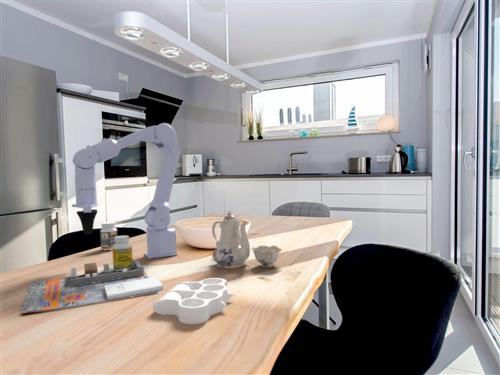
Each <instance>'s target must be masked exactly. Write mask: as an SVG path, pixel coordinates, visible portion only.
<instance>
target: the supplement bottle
mask: <svg viewBox="0 0 500 375" xmlns="http://www.w3.org/2000/svg"><path fill="white" fill-rule="evenodd" d="M114 241H115V243H116V244H114V245H113V247H112V250H111V251H112V264H113V266H112V267H113V271H115V272H119V271H121V272H122V271H123V269H127V271H129V270H133V268H134V264H133V260H134V259H133V258H134V257H133V244H132V243H131V242H130V236H129V235H117V237H114Z"/></svg>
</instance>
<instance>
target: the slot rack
mask: <svg viewBox="0 0 500 375" xmlns="http://www.w3.org/2000/svg"><path fill="white" fill-rule="evenodd" d="M133 268H134V269H130V270H128V271H127V269H123V271H121V272H118V271H115V272H112V271H111V269H110V266H109V263H105V264H104V263H103V273H101V274H98V275H97V273H92V276H90V274H86V277H85V276H82V277H81V276H79V277H77V268H76V267H72V268H70V287H74V286H73V285H77V286H81V285H80V284H83V285H86V284H85V283H90V284H93V283H92V282H96V283H99V282H98V281H103V282H106V281H105V280H110V281H113V280H112V279H116V280H120V279H119V278H123V279H127V278H126V277H130V278H133V277H132V276H136V277H139V276H138V275H143V276H144V272H145V271H144V267H143V266H142V264H141V262H140V261H139V260H138V259H133Z"/></svg>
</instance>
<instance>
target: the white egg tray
mask: <svg viewBox="0 0 500 375" xmlns="http://www.w3.org/2000/svg"><path fill="white" fill-rule="evenodd" d="M234 296H235V294H233V293H231V292H229V291H228V282H227V280H226V279H224V278H221V277H210V278H205V279H202V280H201V279H200V280H199V281H198V280H197V281H183V282H182V281H181V282H179V283H177V284H176V285H175V286H174V287H173V288H172V289H171V290H169V291H167V292H165V294H164V295H163V296H162V297H160V299H157V301H155V302H153V303H152V310H153V312H154V313H156V314H158V315H164V316H165V315H166V316H168V315H169V316H171V315H172V316H176V317H177V318H178V321H179V322H180V323H183V324H186V325H198V324H203V323H206V322H208V321H209V318H211V317H212V316H213V315H217V314H219V313H220V312H222V311H223V310H224V308H227V307H228V300H229V299H230V298H232V297H234Z"/></svg>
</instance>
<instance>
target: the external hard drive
mask: <svg viewBox="0 0 500 375" xmlns="http://www.w3.org/2000/svg"><path fill="white" fill-rule="evenodd" d="M103 289H104V292H105V296H106V298H107V300H113V299H118V298H123V297H128V296H134V295H139V294H146V293H151V291H152V292H157V291H162V290H164V284H163V283H162V282H161V280H160V279H159V278H158V277H157V276H152V277H147V278H140V279H134V280H128V281H124V282H118V283H112V284H105V285H103Z"/></svg>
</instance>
